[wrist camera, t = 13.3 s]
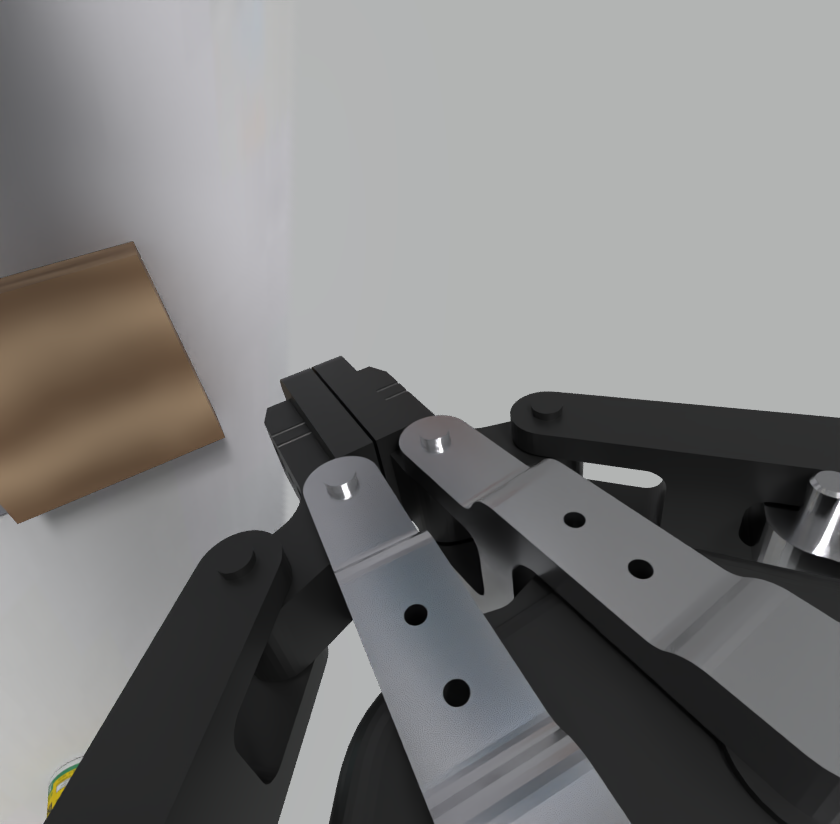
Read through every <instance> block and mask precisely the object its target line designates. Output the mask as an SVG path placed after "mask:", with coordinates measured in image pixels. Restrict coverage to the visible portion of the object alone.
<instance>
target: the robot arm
mask: <svg viewBox="0 0 840 824" xmlns="http://www.w3.org/2000/svg"><path fill="white" fill-rule="evenodd" d="M280 383H281V387H282V390H283V392H284V395H285V398H286V401H284V402H281V403H279V404H276V405H274V406H272V407H269V408H267V412H266V417H265V422H264V423H265V426H266V428H267V431H268V433H269V435H270V438H271V440H272V443H273V445H274V447H275V450H276V452H277V455H278V457H279V459H280V462H281V464H282V467H283V469H284V472H285V474H286V476H287V478H288V479H289V481H290V483H291V485H292V487H293V489H294V491H295V493H296V495H297V496H298V498H299V500H300V503H299V506H298V508H297V510H296V512H295V513H294V515H293V516H292V517H291V518H290V520H289V521H288V522H287V523H286V524H285V525H283V526H282V527H281V528H280V529H279V530H277V531H276V532H275V533H274V534H273V535H272V534H270V533H268V532H265V531H258V530H252V531H245V532H241V533H238V534H235V535H232V536H230V537H228V538H226V539H224V540H222V541H221V542H219V543H218V544H217V545H215V546H214V547H213V548H212V549H210V550H209V551H208V552H207V553H206V554H205V556H204V557H203V558H202V559H201V561H200V562H199V564H198V565H197V567H196V569H195V570H194V572H193V574H192V575H191V577H190V579H189V580H188V582H187V584H186V586H185V587H184V589H183V591H182V592H181V594H180V596H179V597H178V599H177V601H176V602H175V604H174V606H173V607H172V609H171V611H170V612H169V614H168V616H167V617H166V619H165V621H164V622H163V624H162V626H161V627H160V629H159V631H158V632H157V634H156V636H155V637H154V639H153V641H152V643H151V644H150V646H149V648H148V649H147V651H146V653H145V654H144V656H143V658H142V659H141V661H140V663H139V664H138V666H137V668H136V669H135V671H134V673H133V674H132V676H131V678H130V679H129V681H128V683H127V684H126V686H125V688H124V689H123V691H122V693H121V694H120V696H119V698H118V699H117V701H116V703H115V705H114V706H113V708H112V710H111V711H110V713H109V715H108V716H107V718H106V720H105V721H104V723H103V725H102V726H101V728H100V730H99V731H98V733H97V735H96V736H95V738H94V740H93V741H92V743H91V745H90V746H89V748H88V750H87V751H86V753H85V755H84V756H83V758H82V760H81V762H80V763H79V765H78V767H77V768H76V770H75V772H74V773H73V775H72V777H71V778H70V780H69V782H68V783H67V785H66V787H65V788H64V790H63V792H62V793H61V795H60V797H59V798H58V800H57V802H56V803H55V805H54V807H53V808H52V810H51V812H50V813H49V815H48V817H47V818H46V820H45V822H44V824H278V821H279V817H280V814H281V811H282V808H283V804H284V801H285V797H286V794H287V791H288V788H289V785H290V781H291V778H292V775H293V771H294V768H295V765H296V761H297V758H298V755H299V752H300V748H301V745H302V742H303V738H304V735H305V732H306V728H307V725H308V722H309V719H310V715H311V712H312V709H313V706H314V702H315V699H316V695H317V692H318V689H319V686H320V683H321V679H322V676H323V673H324V669H325V666H326V662H327V658H328V645H329V644H330V643H331V642H332V641H333V640H334V639H335V638H336V637H337V636H338V635H339V634H340V633H341V632H342V630H344V628H345V627H346V626H347V625H348V624H349V623H350V622H351V621H352V620H353V621H354V623H355V626H356V628H357V631H358V633H359V636H360V638H361V641H362V643H363V646H364V648H365V651H366V653H367V656H368V658H369V661H370V664H371V666H372V669H373V671H374V674H375V676H376V679H377V681H378V683H379V686H380V689H381V691H382V692H381V693H380V694H379V696H378V697H377V698H376V699H375V701H374V702H373V703H372V705H371V706H370V708H369V709H368V710H367V712H366V713H365V715H364V717H363V718H362V720H361V722H360V723H359V725H358V727H357V729H356V731H355V733H354V736H353V737H352V740H351V742H350V744H349V746H348V749H347V752H346V755H345V758H344V761H343V764H342V767H341V771H340V775H339V779H338V783H337V788H336V793H335V798H334V802H333V807H332V812H331V816H330V821H329V824H840V418H834V417H824V416H813V415H802V414H791V413H780V412H770V411H759V410H747V409H737V408H726V407H715V406H704V405H693V404H682V403H671V402H660V401H650V400H639V399H628V398H617V397H606V396H595V395H584V394H573V393H561V392H537V393H533V394H529V395H527V396H524V397H522V398H521V399H519V400H518V401H517V402H516V403H515V404H514V405H513V406H512V408H511V411H510V414H511V415H510V416H511V421H510V422H506V423H502V424H498V425H493V426H488V427H483V428H475V429H474V428H473V427H471V426H470V425H468V424H467V423H466V422H464V421H463V420H461V419H459V418H456V417H452V416H446V415H436V416H435V415H434V414H433V413H432V412H431V411H430V410H428V409H427V408H426V407H425V406H424V405H423V404H422V403H421V402H420V401H418V400H417V399H416V398H415V397H414V396H413V395H412V394H411V393H409V392H408V391H406V389H405V388H404V387H403V386H402V385H401V384H398V383H397V381H396V380H395V379H394V378H393V377H392V376H391V375H389V374H388V373H387V372H386V371H382V370H379V369H376V368H372V367H367V368H365V369H362V370H359V371H356V370H355V369H354V368H353V367H352V366H351V365H350V364H349V363H348V362H347V361H346V360H345V359H344V358H343V357H342V356H339V357H337V358H334V359H331V360H329V361H326V362H324V363H321V364H319V365H316V366H314V367H312V369H310V368H309V369H307V370H304V371H301V372H299V373H296V374H294V375H291V376H288V377H286V378H283V379H281V380H280ZM583 462H587V463H595V464H601V465H608V466H615V467H622V468H630V469H637V470H643V471H649V472H652V473H654V474H657V475H658V476H660V477H661V478H662V479H663V481H662V482H661V483H660V484H659V485H658V486H656V487H652V488H641V487H634V486H627V485H621V484H615V483H608V482H602V481H595V480H589V479H585V478H583ZM412 521H413V522H414V523H415V524H416V526H417V527H418V528H419V532H418V530H417V529H416V528H415V526H414V524H413V523H412Z"/></svg>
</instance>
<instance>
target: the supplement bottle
mask: <svg viewBox="0 0 840 824" xmlns="http://www.w3.org/2000/svg"><path fill="white" fill-rule="evenodd" d="M82 758H83V757H80V758H78V759H75V760H73V761H71V762H69V763H67V764H66V765H64V766H63V767H61V768H60V769H59V770H58V771H57V772H56V773H55V774H54V776H53V777H52V779H51V781H50V783H49V792H48V807H47V817H48V815H49V813H50V812H51V810H52V808H53V807H54V805H55V803H56V802H57V800H58V798H59V797H60V795H61V793H62V792H63V790H64V788H65V787H66V785H67V783H68V782H69V780H70V778H71V777H72V775H73V773H74V772H75V770H76V768H77V767H78V765H79V763H80V762H81V760H82Z"/></svg>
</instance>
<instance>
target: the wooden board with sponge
mask: <svg viewBox="0 0 840 824" xmlns="http://www.w3.org/2000/svg"><path fill="white" fill-rule="evenodd" d="M223 438H225V436H224V433H223V431H222V429H221V426H220V424H219V421H218V419H217V416H216V414H215V412H214V410H213V407H212V405H211V403H210V401H209V399H208V397H207V395H206V393H205V391H204V389H203V387H202V384H201V382H200V380H199V378H198V376H197V374H196V372H195V370H194V368H193V366H192V364H191V361H190V359H189V357H188V355H187V353H186V351H185V349H184V347H183V345H182V343H181V341H180V338H179V336H178V334H177V332H176V330H175V328H174V326H173V324H172V322H171V320H170V318H169V315H168V313H167V311H166V309H165V307H164V305H163V303H162V301H161V299H160V297H159V294H158V292H157V290H156V288H155V286H154V284H153V282H152V280H151V278H150V276H149V274H148V271H147V269H146V267H145V265H144V263H143V261H142V259H141V257H140V255H139V253H138V251H137V248H136V246H135V244H134V242H133V241H132V242H129V243H125V244H121V245H118V246H114V247H111V248H107V249H104V250H100V251H96V252H93V253H89V254H86V255H82V256H78V257H75V258H71V259H68V260H64V261H61V262H57V263H53V264H50V265H46V266H43V267H39V268H35V269H32V270H28V271H25V272H21V273H17V274H14V275H10V276H7V277H3V278H0V505H1V506H2V507H3V508H4V509H5V510H6V511H7V512H8V514H9V515H10V516H11V517H12V518H13V519H14V520H15V521H16V523H17V524H19V523H21V522H24V521H26V520H28V519H31V518H33V517H36V516H38V515H40V514H43V513H45V512H48V511H50V510H52V509H55V508H57V507H60V506H62V505H64V504H67V503H69V502H72V501H74V500H76V499H79V498H81V497H84V496H86V495H88V494H91V493H93V492H96V491H98V490H100V489H103V488H105V487H108V486H110V485H112V484H115V483H117V482H120V481H122V480H124V479H127V478H129V477H132V476H134V475H136V474H139V473H141V472H144V471H146V470H148V469H151V468H153V467H156V466H158V465H160V464H163V463H165V462H168V461H170V460H172V459H175V458H177V457H180V456H182V455H184V454H187V453H189V452H192V451H194V450H196V449H199V448H201V447H204V446H206V445H208V444H211V443H213V442H216V441H218V440H220V439H223Z"/></svg>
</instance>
